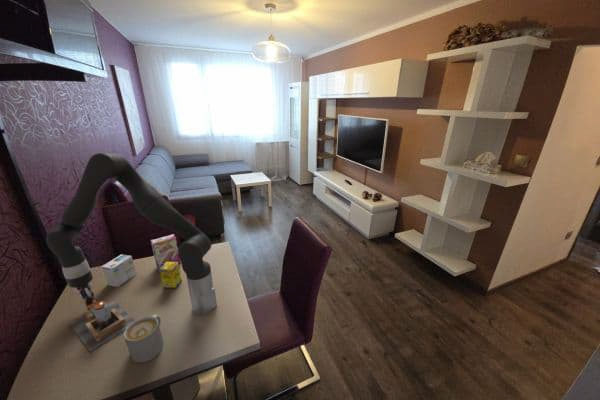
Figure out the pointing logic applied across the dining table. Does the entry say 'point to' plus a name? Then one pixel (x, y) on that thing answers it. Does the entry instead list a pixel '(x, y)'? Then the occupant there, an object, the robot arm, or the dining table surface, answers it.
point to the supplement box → (170, 275)
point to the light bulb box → (119, 270)
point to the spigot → (102, 315)
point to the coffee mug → (144, 338)
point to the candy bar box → (165, 250)
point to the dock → (91, 331)
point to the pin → (91, 307)
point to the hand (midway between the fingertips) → (90, 306)
